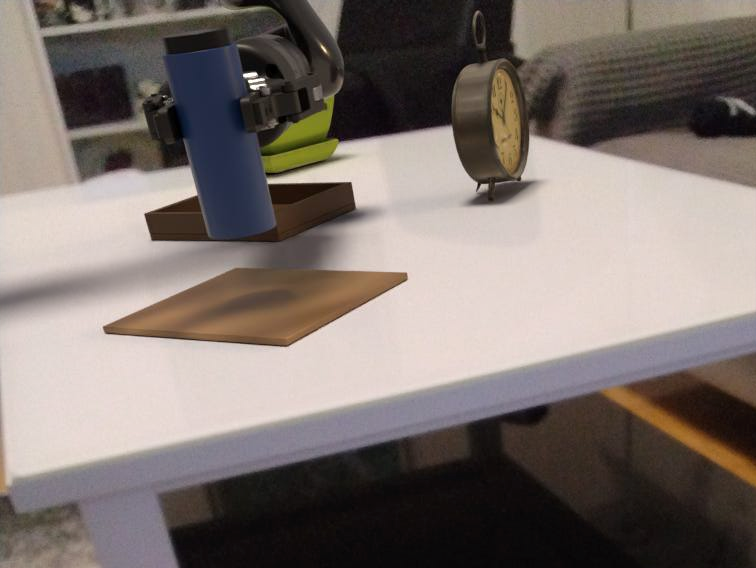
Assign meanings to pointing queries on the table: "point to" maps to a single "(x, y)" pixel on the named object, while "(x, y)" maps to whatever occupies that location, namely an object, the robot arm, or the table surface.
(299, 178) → the table surface
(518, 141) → the alarm clock
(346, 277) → the wooden board
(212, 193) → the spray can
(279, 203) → the tray
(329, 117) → the flower pot
